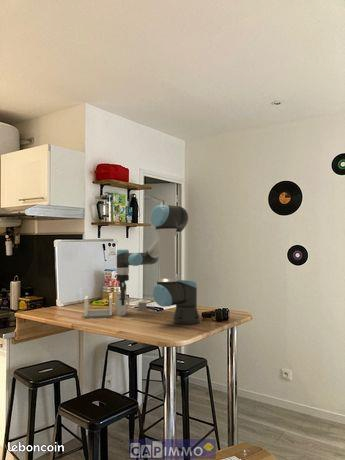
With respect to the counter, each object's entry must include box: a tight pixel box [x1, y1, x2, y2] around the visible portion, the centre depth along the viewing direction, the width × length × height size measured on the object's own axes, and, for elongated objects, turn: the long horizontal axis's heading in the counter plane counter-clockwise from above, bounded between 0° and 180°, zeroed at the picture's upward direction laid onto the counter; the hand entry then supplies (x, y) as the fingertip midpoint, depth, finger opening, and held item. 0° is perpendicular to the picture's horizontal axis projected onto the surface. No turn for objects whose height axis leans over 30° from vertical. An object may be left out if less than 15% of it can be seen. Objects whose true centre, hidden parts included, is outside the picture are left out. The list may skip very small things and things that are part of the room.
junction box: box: [137, 300, 147, 312], centre depth 237 cm, size 6×5×5 cm
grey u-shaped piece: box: [83, 294, 113, 320], centre depth 218 cm, size 14×16×12 cm
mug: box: [114, 294, 130, 317], centre depth 222 cm, size 10×7×12 cm, turn 133°
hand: (122, 308), depth 222 cm, fingers open, 13 cm apart
